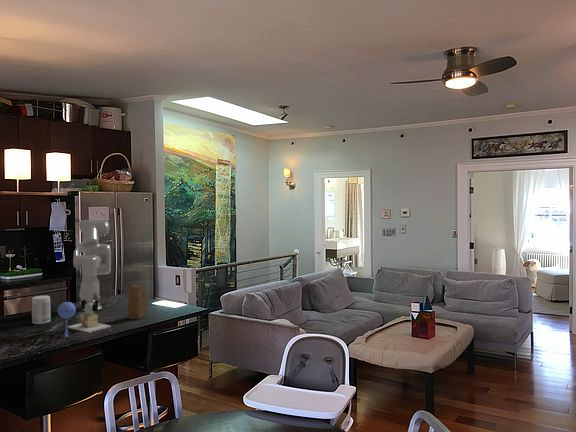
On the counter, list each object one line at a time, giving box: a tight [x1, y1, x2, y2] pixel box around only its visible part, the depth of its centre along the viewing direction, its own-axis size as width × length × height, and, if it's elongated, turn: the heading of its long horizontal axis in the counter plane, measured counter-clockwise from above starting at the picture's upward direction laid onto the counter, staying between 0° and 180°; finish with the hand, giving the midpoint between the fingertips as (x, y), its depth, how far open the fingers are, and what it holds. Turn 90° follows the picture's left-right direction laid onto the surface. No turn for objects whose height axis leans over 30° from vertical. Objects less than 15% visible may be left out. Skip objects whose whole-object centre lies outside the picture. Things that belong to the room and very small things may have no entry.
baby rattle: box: [57, 301, 77, 338], centre depth 251 cm, size 9×9×18 cm
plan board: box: [67, 322, 112, 334], centre depth 269 cm, size 18×14×1 cm
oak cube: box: [80, 313, 99, 328], centre depth 269 cm, size 6×6×6 cm
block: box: [127, 283, 148, 320], centre depth 292 cm, size 11×8×20 cm
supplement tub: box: [31, 295, 52, 325], centre depth 279 cm, size 10×10×15 cm
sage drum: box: [84, 303, 95, 316], centre depth 269 cm, size 5×5×6 cm
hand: (89, 310), depth 269 cm, fingers open, 9 cm apart
